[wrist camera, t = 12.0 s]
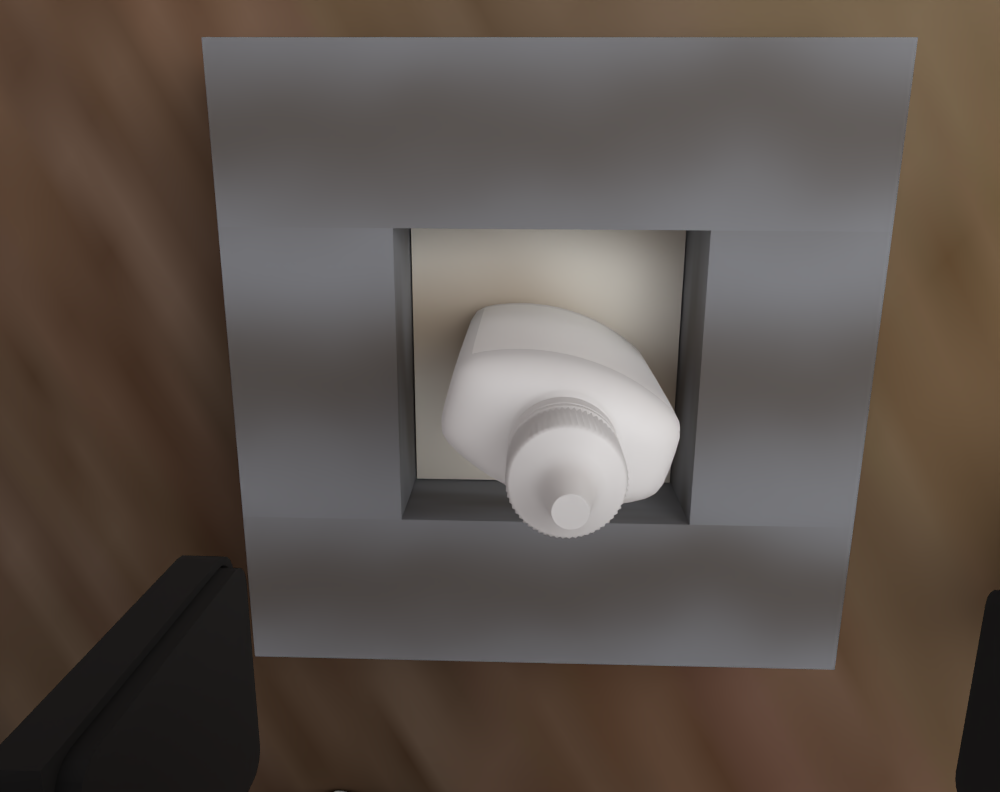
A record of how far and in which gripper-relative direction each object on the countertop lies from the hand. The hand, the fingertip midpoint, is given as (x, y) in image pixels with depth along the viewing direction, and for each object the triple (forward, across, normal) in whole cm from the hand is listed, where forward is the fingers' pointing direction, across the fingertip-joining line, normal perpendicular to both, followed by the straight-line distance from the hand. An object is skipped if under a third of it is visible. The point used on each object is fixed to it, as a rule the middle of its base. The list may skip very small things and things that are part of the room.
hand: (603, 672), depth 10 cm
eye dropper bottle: (+17, 0, 0) cm, 17 cm away
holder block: (+17, +1, 0) cm, 17 cm away
